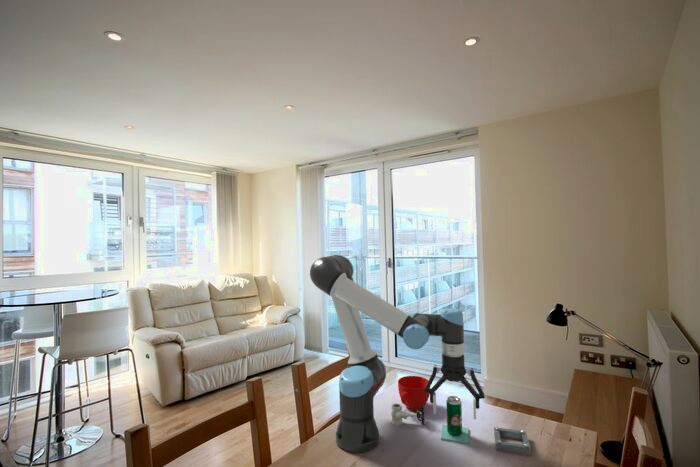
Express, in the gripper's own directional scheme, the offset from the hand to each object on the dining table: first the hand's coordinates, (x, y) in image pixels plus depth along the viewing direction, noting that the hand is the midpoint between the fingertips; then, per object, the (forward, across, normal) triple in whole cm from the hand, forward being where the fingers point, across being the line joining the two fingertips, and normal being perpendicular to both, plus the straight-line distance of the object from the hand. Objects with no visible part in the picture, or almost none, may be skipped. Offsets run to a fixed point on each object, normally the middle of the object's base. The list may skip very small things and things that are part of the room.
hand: (454, 414), depth 125 cm
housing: (+7, +18, -1) cm, 19 cm away
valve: (+7, -17, +3) cm, 19 cm away
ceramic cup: (+7, -17, +15) cm, 24 cm away
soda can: (+7, 0, 0) cm, 7 cm away
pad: (+7, 0, 0) cm, 7 cm away
